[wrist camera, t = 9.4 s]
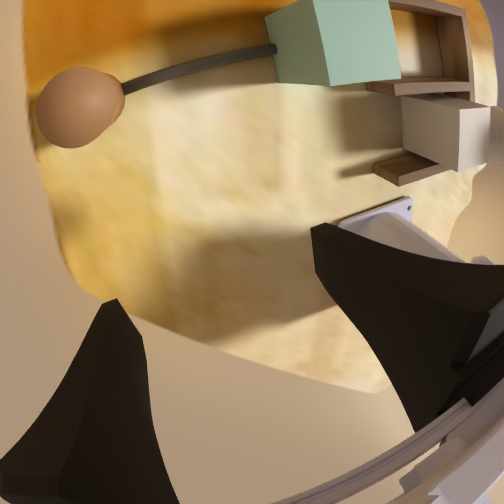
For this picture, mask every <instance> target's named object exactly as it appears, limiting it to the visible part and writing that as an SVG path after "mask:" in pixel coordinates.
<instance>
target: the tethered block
mask: <svg viewBox="0 0 504 504" xmlns="http://www.w3.org/2000/svg"><path fill="white" fill-rule="evenodd" d="M264 20H265V24H266V28H267V32H268V36H269V40H270V44H269V45H262V46H256V47H251V48H245V49H240V50H235V51H230V52H226V53H221V54H217V55H213V56H209V57H205V58H201V59H197V60H193V61H190V62H186V63H183V64H179V65H176V66H172V67H169V68H166V69H163V70H160V71H157V72H154V73H151V74H148V75H145V76H142V77H140V78H137V79H134V80H131V81H129V82H126V83H124V84H121V83H120V82H119V80H117V79H116V78H115V77H114V76H112V75H109V74H106V73H103V72H99V71H96V70H92V69H88V68H82V67H78V68H71V69H68V70H65V71H63V72H61V73H59V74H58V75H56V76H55V77H54V78H53V79H51V80H50V81H49V83H48V84H47V85H46V86H45V88H44V89H43V91H42V93H41V95H40V98H39V101H38V105H37V120H38V124H39V127H40V130H41V132H42V133H43V135H44V136H45V137H46V138H47V139H48V140H49V141H50V142H51V143H53V144H55V145H57V146H59V147H62V148H78V147H82V146H84V145H87V144H88V143H90V142H92V141H93V140H95V139H96V138H97V137H98V136H99V135H100V134H101V133H102V132H103V131H105V130H106V129H107V128H108V127H109V126H110V125H111V124H112V123H113V122H114V121H115V120H116V119H117V118H118V117H119V116H120V114H121V112H122V110H123V108H124V104H125V95H127V94H130V93H133V92H135V91H138V90H141V89H143V88H146V87H149V86H152V85H155V84H158V83H161V82H164V81H167V80H170V79H173V78H176V77H179V76H183V75H186V74H190V73H193V72H197V71H200V70H204V69H208V68H212V67H216V66H220V65H224V64H228V63H233V62H237V61H242V60H247V59H252V58H257V57H263V56H268V55H273V57H274V61H275V66H276V70H277V75H278V80H279V83H291V84H308V85H321V86H337V85H344V84H352V83H360V82H369V81H379V80H391V79H401V71H400V64H399V56H398V50H397V44H396V38H395V32H394V27H393V22H392V17H391V12H390V7H389V3H388V0H299V1H297V2H295V3H292V4H290V5H288V6H286V7H284V8H282V9H280V10H278V11H275V12H273V13H271V14H269V15H267V16H266V17H264Z"/></svg>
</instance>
